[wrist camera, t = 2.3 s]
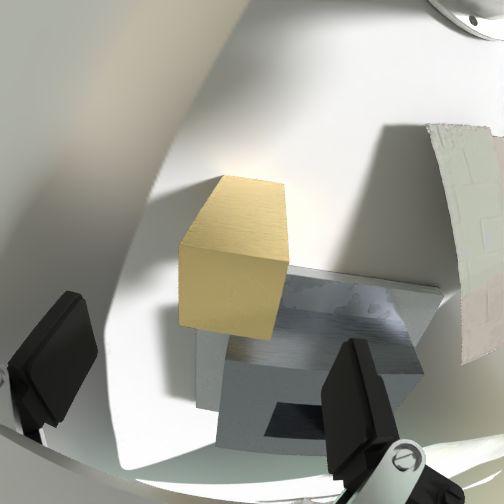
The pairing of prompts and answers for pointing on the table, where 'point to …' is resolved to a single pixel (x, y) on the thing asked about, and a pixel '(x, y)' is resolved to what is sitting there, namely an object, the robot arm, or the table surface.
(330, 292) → the collar block
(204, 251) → the brass pin
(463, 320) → the beige piece
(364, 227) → the table surface
